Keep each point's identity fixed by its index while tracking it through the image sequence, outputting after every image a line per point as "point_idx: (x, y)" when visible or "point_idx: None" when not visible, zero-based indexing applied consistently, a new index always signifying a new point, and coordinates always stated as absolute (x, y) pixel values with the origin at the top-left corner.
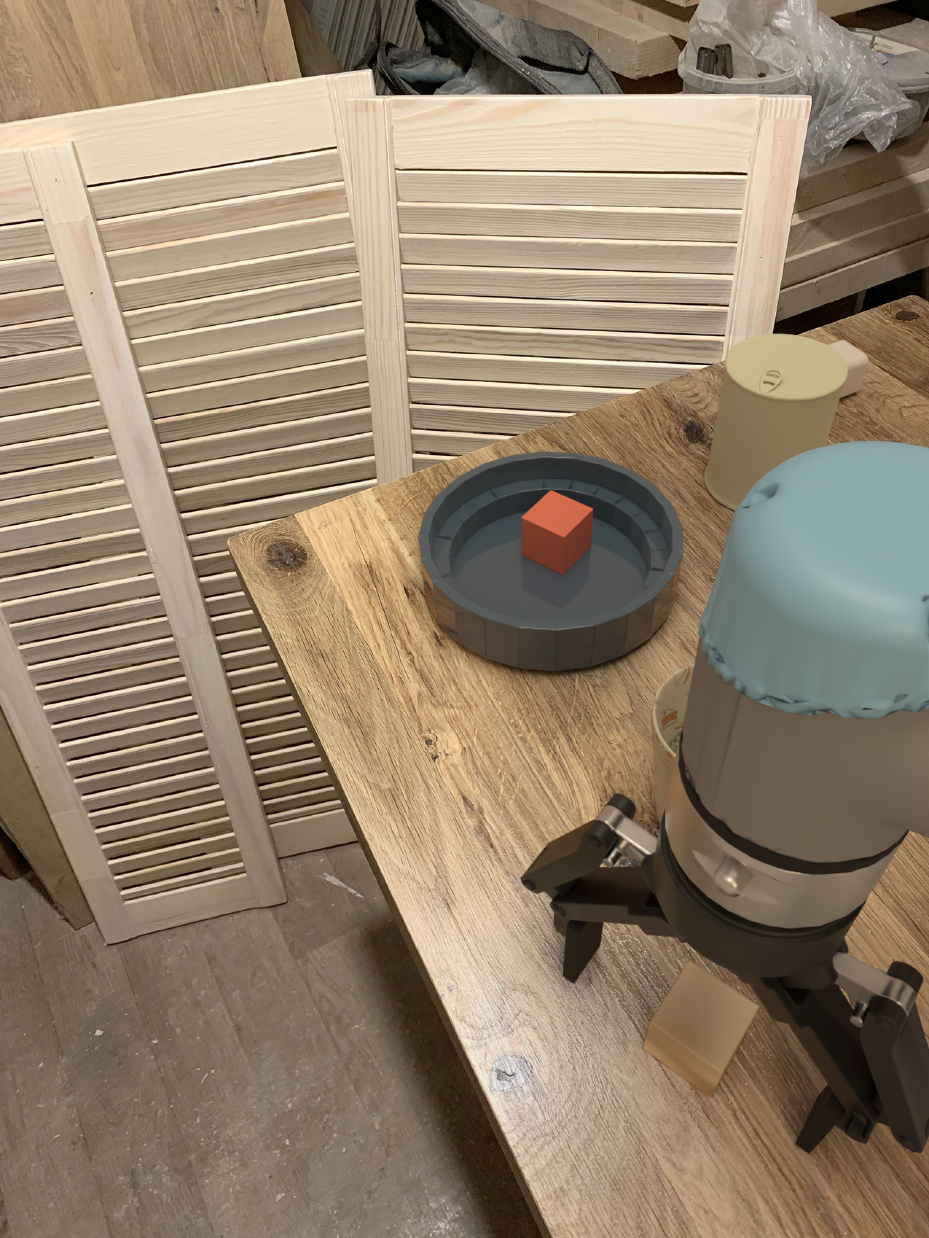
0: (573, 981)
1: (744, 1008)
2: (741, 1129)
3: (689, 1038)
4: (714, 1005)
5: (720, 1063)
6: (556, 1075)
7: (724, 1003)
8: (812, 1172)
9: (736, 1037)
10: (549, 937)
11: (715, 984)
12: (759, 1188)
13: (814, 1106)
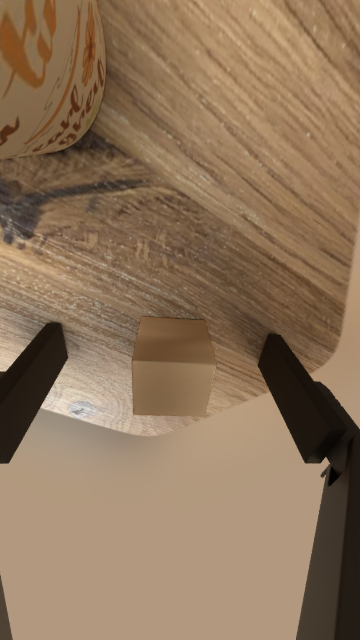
0: (65, 361)
1: (203, 372)
2: (222, 371)
3: (169, 411)
4: (176, 384)
5: (200, 412)
6: (104, 399)
7: (184, 377)
8: None
9: (205, 395)
10: (22, 334)
11: (168, 369)
12: (241, 388)
13: (270, 352)
